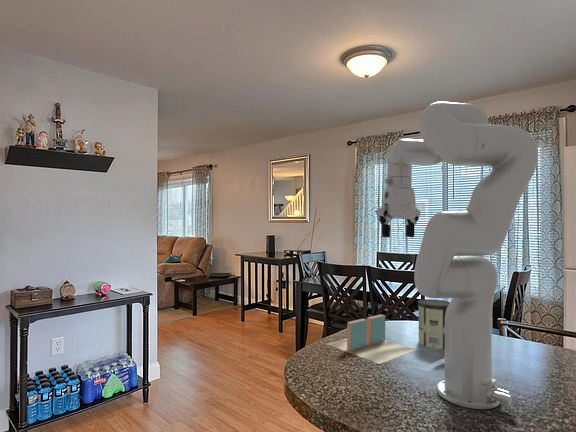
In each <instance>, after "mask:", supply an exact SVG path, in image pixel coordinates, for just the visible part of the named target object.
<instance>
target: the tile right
mask: <svg viewBox="0 0 576 432" xmlns="http://www.w3.org/2000/svg"><path fill="white" fill-rule="evenodd" d="M366 320H367V344H370V345H372V344H376V343H379V342H382V341H385V340H386V315H384V314H378V315H373V316H369V317H367V318H366Z"/></svg>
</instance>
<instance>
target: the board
mask: <svg viewBox="0 0 576 432" xmlns="http://www.w3.org/2000/svg"><path fill="white" fill-rule="evenodd" d="M326 345H327V346H331V347H333V348H335V349H338V350H341V351H344V352H346V353H348V354H349V353H350V354H351V355H354V356H356V357H360V358H362V359H365V360H367V361H370V362H373V363H375V364H378V365H380V364H383V363H387V362H388V361H391V360H394V359H397V358H399V357H402V356H405V355H408V354H410V353H413V352H416V351H417V349H416V348H413V347H409V346H405V345H402V344H400V343H396V342H392V341H390V340H387V339H385V341H382V342H379V343H376V344H372V345H370V344H367V346H366V347H362V348H359V349H356V350H353V351H350V350H347V338H344V339H340V340H337V341H332V342H329V343H326Z"/></svg>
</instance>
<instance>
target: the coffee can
mask: <svg viewBox="0 0 576 432" xmlns="http://www.w3.org/2000/svg"><path fill="white" fill-rule="evenodd" d="M450 302H451V301H447V300H443V299H435V298H429V299H428V298H427V299H420V300H418V301H417V304H418V344H419V345H421V346H423V347H426V348H430V349H436V350H445V314H446V310H447V307H448V305H449V303H450Z"/></svg>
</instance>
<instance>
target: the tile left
mask: <svg viewBox="0 0 576 432" xmlns="http://www.w3.org/2000/svg"><path fill="white" fill-rule="evenodd" d="M346 325H347V326H346V330H347V331H346V332H347V333H346V339H347V350H350V351H353V350H356V349H359V348H362V347H366V346H367V318H359V319H355V320H351V321H347V324H346Z"/></svg>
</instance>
